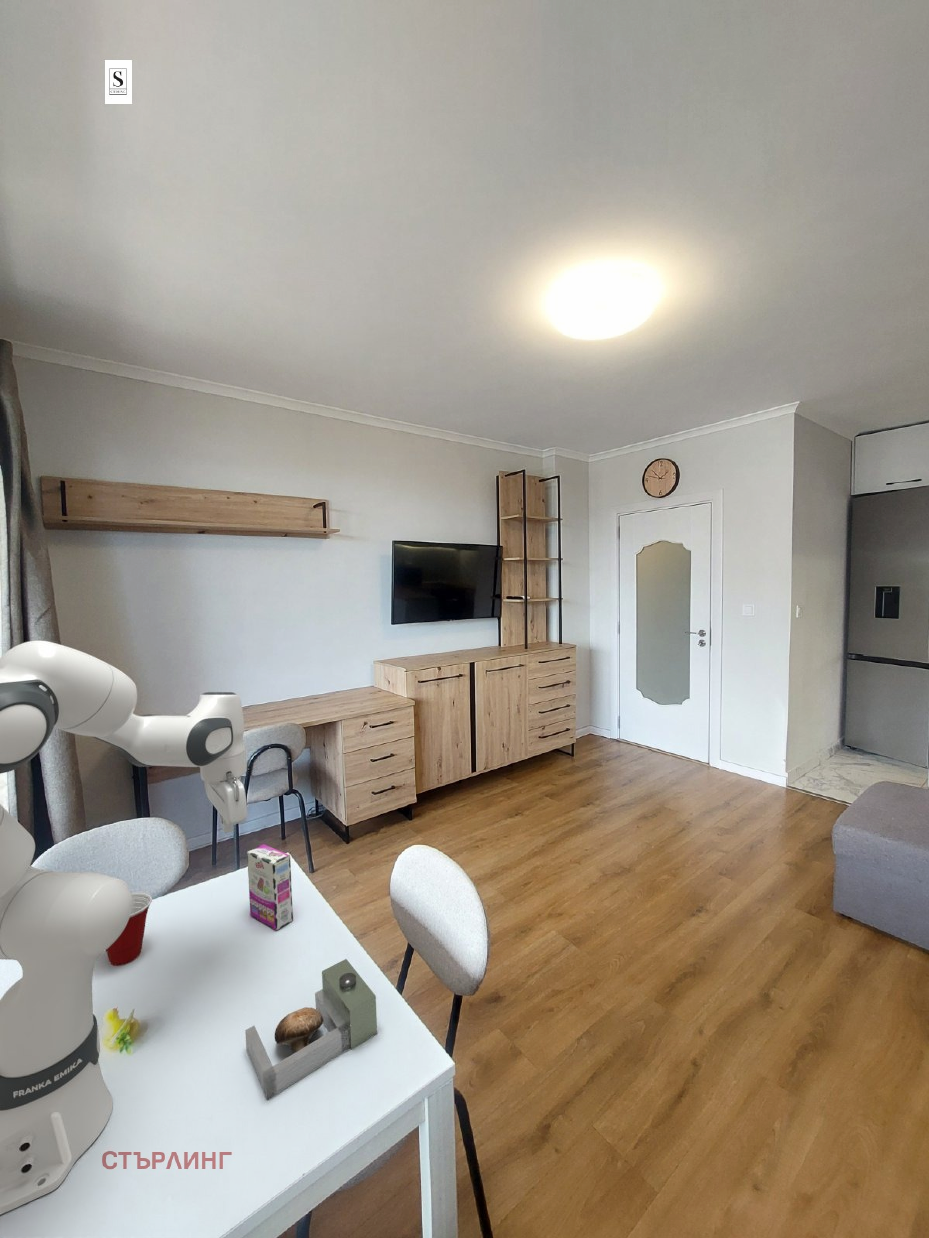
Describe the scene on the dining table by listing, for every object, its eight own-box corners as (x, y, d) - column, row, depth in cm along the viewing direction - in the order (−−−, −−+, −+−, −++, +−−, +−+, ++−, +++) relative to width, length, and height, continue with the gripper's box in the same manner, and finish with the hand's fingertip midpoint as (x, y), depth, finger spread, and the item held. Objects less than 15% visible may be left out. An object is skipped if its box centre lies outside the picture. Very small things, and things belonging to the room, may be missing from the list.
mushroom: (311, 1052, 83) (304, 1007, 86) (268, 1070, 83) (262, 1025, 86) (334, 1037, 90) (326, 996, 93) (293, 1054, 90) (287, 1013, 93)
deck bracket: (268, 1102, 78) (265, 1054, 78) (246, 1049, 87) (244, 1006, 87) (377, 1033, 90) (375, 991, 89) (347, 992, 99) (346, 954, 99)
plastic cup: (163, 952, 112) (159, 900, 112) (106, 982, 104) (102, 926, 103) (145, 933, 119) (141, 883, 119) (90, 959, 111) (86, 906, 110)
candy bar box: (294, 920, 122) (291, 854, 121) (276, 932, 118) (273, 864, 117) (267, 905, 128) (264, 842, 128) (249, 915, 124) (245, 851, 124)
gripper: (253, 775, 100) (257, 843, 101) (227, 752, 116) (231, 810, 117) (219, 783, 96) (223, 854, 97) (197, 758, 112) (201, 819, 113)
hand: (227, 830), depth 107 cm, fingers closed
